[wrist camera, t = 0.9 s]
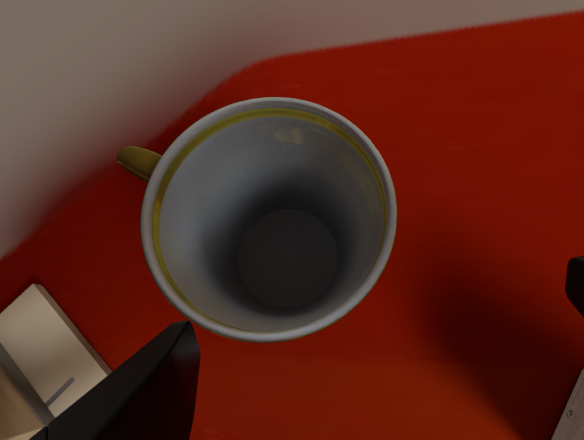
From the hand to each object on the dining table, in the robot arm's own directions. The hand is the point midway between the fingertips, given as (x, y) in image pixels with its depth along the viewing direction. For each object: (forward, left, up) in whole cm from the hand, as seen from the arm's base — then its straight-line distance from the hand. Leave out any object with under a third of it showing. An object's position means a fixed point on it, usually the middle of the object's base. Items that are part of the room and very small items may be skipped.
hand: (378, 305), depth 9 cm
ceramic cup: (+5, +5, -15) cm, 16 cm away
